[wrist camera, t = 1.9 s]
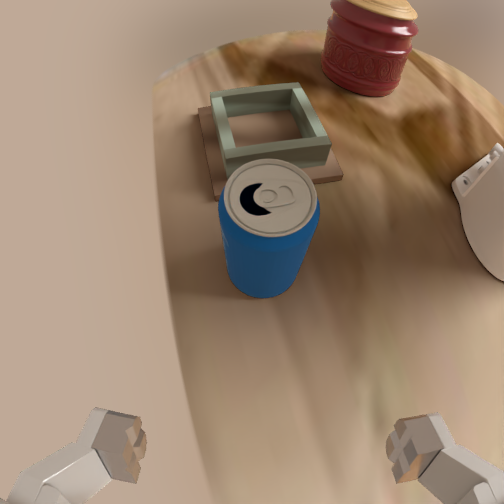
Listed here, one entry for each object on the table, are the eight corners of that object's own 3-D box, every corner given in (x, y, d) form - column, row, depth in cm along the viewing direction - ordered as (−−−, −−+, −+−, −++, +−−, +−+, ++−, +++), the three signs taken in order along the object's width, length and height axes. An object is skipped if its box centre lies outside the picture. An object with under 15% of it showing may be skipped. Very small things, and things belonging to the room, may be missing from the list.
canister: (410, 98, 42) (448, 8, 26) (340, 100, 40) (368, -9, 24) (372, 54, 47) (394, -26, 31) (307, 54, 45) (320, -38, 29)
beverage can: (221, 243, 31) (208, 163, 20) (286, 229, 32) (304, 147, 21) (235, 307, 28) (228, 253, 17) (305, 291, 29) (338, 230, 18)
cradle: (198, 114, 38) (194, 87, 34) (302, 100, 40) (306, 74, 36) (215, 201, 33) (211, 174, 29) (341, 180, 34) (351, 154, 30)
